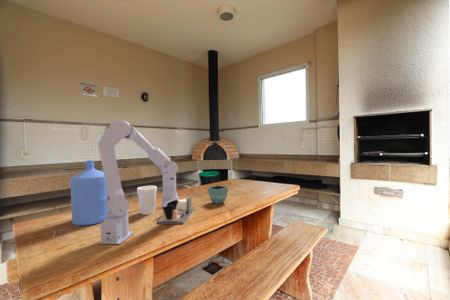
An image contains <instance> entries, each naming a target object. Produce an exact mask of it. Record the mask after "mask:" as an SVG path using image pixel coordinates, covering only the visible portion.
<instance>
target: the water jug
mask: <svg viewBox="0 0 450 300" xmlns="http://www.w3.org/2000/svg"><path fill="white" fill-rule="evenodd" d="M94 162H95V160H85V163H86V164H85V167H86V169H85V170H83V171H81V172H79V173H76V174H75V175H73V176H71V177H70V179H69V180H70V181H69V187H70V206H71V224H72V225H74V226H77V227H79V226H80V227H81V226H92V225H96V224H99V223H103V222H104V221H105V219H106V217H107V213H108V211H109V209H108V208H107V207H106V200H107V187H106V182H105V177H104V172H103V171H100V170H98V169H95V163H94Z"/></svg>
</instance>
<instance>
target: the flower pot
mask: <svg viewBox="0 0 450 300" xmlns="http://www.w3.org/2000/svg"><path fill="white" fill-rule="evenodd" d="M207 190H208V191H207V193H208V197H209V199H210V201H211V202H212V203H214V204H217V205H219V204H222V203H223V204H224V203H225V201H226V200H227V197H228V190H229V188H228V187H227V186H223V185H215V186H209V187H207Z"/></svg>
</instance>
